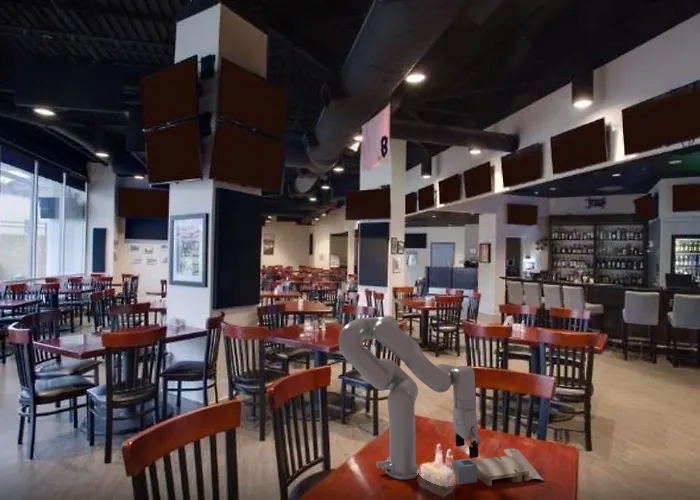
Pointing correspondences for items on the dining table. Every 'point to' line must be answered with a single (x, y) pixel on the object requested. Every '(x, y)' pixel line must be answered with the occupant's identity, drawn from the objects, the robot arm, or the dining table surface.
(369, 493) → the dining table surface
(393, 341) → the robot arm
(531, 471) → the beige piece
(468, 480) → the grey hollow block
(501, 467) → the miniature wooden pallet
